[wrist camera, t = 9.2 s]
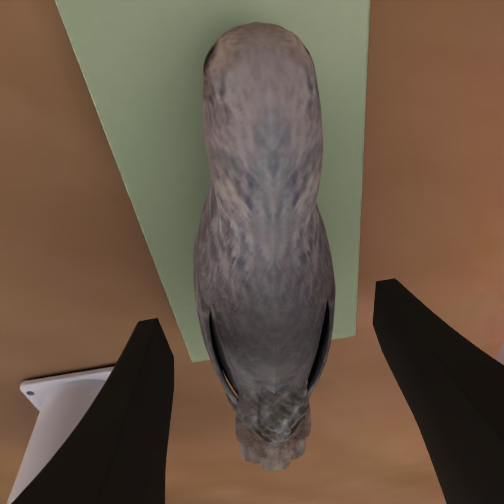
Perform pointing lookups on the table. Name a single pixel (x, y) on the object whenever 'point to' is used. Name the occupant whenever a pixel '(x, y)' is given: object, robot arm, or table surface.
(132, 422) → the robot arm
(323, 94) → the shelf
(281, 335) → the bird
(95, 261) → the table surface
